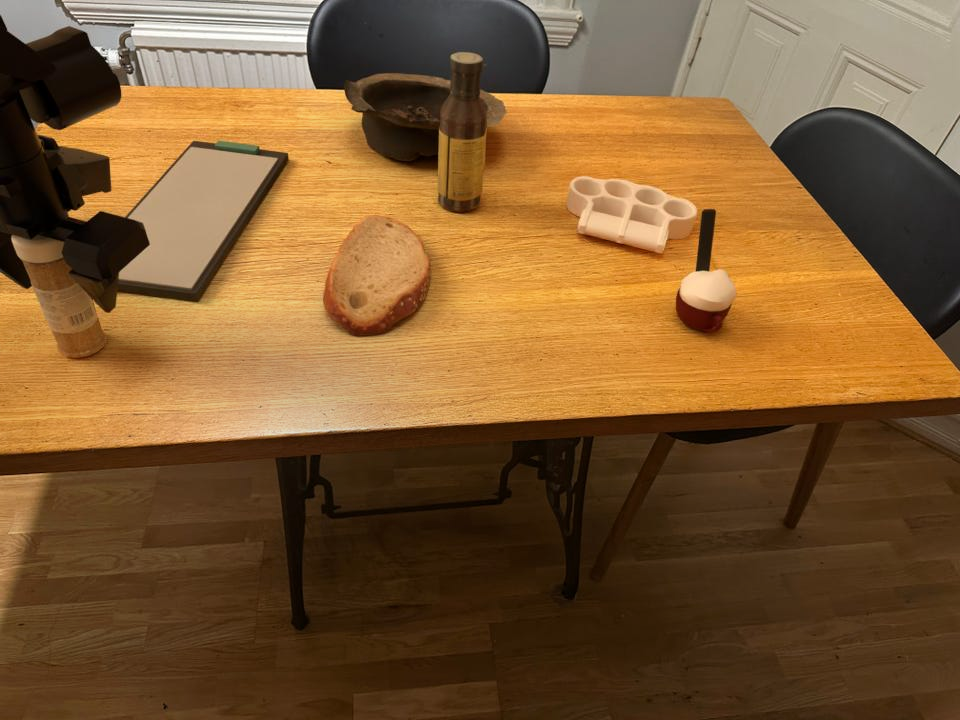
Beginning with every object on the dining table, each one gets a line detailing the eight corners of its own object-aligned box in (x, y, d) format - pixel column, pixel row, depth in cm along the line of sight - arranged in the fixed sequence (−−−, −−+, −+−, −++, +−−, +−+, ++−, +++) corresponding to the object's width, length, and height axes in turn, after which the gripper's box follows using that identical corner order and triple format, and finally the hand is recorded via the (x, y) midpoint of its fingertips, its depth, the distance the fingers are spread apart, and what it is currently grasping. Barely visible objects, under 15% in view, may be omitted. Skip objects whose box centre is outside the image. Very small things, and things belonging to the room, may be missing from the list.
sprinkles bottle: (99, 325, 73) (59, 213, 64) (113, 349, 71) (74, 236, 62) (51, 340, 71) (3, 226, 62) (64, 366, 68) (16, 250, 59)
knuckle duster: (552, 233, 94) (574, 184, 105) (684, 266, 91) (694, 213, 102) (556, 211, 92) (578, 164, 102) (692, 245, 89) (701, 192, 99)
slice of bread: (385, 220, 93) (385, 195, 90) (478, 285, 84) (481, 260, 82) (266, 268, 83) (262, 241, 80) (358, 347, 74) (357, 321, 72)
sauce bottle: (489, 202, 99) (505, 59, 85) (462, 219, 95) (475, 71, 81) (453, 186, 101) (464, 44, 87) (426, 202, 97) (432, 55, 84)
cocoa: (722, 349, 80) (761, 262, 71) (668, 337, 80) (699, 250, 72) (721, 300, 86) (756, 216, 78) (670, 289, 87) (700, 205, 79)
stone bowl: (345, 177, 99) (341, 112, 93) (347, 115, 118) (345, 57, 113) (515, 178, 103) (522, 116, 97) (491, 117, 122) (495, 62, 116)
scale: (198, 302, 77) (194, 287, 76) (73, 285, 77) (68, 271, 76) (289, 160, 102) (287, 147, 101) (194, 148, 102) (192, 135, 101)
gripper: (164, 131, 60) (203, 272, 71) (-16, 88, 63) (48, 230, 74) (74, 197, 53) (133, 343, 64) (-125, 144, 56) (-36, 293, 67)
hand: (70, 297), depth 67 cm, fingers open, 9 cm apart
